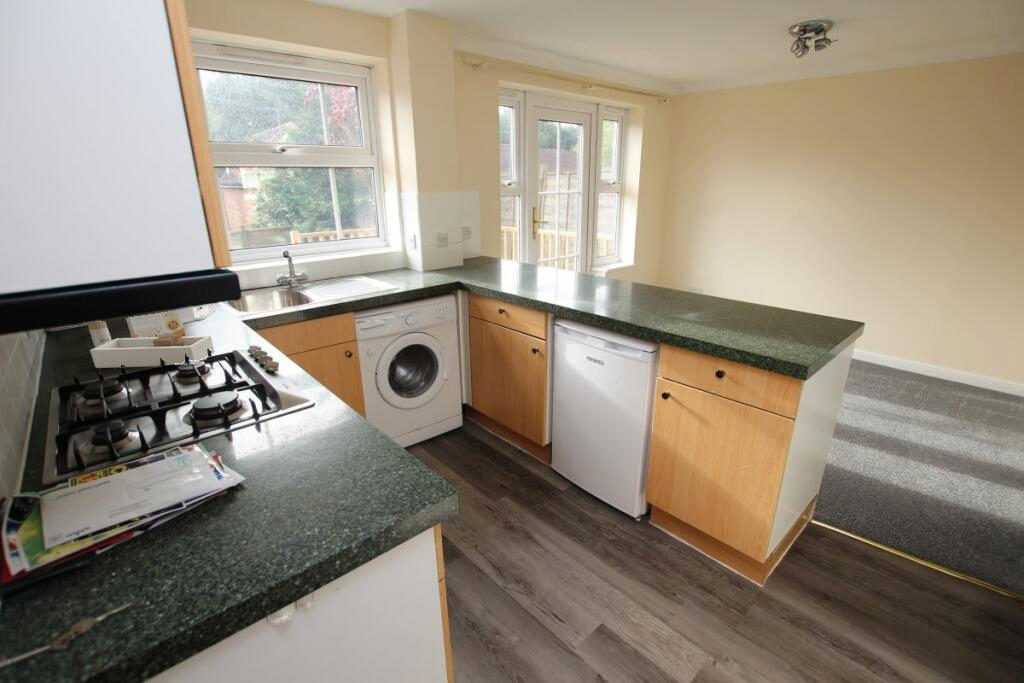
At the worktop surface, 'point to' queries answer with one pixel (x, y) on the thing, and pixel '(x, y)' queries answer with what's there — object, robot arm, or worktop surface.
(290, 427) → the worktop surface
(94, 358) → the channel
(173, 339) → the walnut block
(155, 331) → the cracker box
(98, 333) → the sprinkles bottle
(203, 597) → the worktop surface
